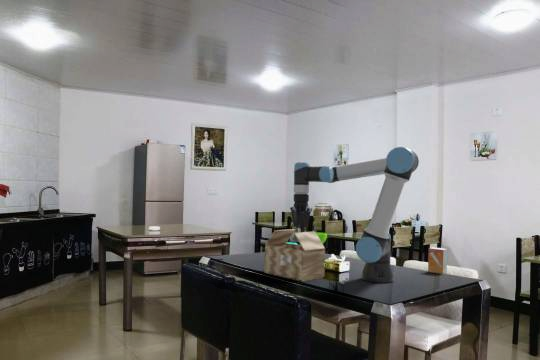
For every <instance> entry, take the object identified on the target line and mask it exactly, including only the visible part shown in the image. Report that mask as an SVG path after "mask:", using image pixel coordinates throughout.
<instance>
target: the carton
mask: <svg viewBox="0 0 540 360" xmlns="http://www.w3.org/2000/svg"><path fill="white" fill-rule="evenodd" d="M325 255H326V248H325V249H317V250H309V251H304V250H303V248H302V246H301V244H298V245H296V244H289V243H283V244H272V245H265V246H264V273H265V274H269V275H272V274H273V275H272V276H277V275H278V276H277V277H282V278H286V277H287V278H286V279H291V278H292V279H291V280H295V279H296V280H295V281H300V280H301V281H300V282H306V281H311V280H316V279H321V278H325V271H326V270H325V264H326V262H325V261H326V256H325Z"/></svg>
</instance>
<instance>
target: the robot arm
mask: <svg viewBox="0 0 540 360" xmlns="http://www.w3.org/2000/svg"><path fill="white" fill-rule="evenodd" d="M419 163H420V161H419V156H418V155H417V153H416V152H415V151H413V150H411V148H409V147H404V146H397V147H393V149H391V150H390V151H389V152H388V153H387V155H386V157H384V158H379V159H372V160H368V161H367V160H366V161H361V162H356V163H349V164H345V165H339V166H338V165H337V166H333V167H332V166H326V165H324V166H322V165H321V166H310V163H309V162H302V161H301V162H299V161H298V162H295V163H294V169H293V170H294V171H293V193H294V194H293V202H294V203H293V205H292V206H290V208H289V209H290V211H291V216H292V218H291V220H292V225H293V227H295V229H296V233H300V232H305V229H306V228H308V227H309V223H310V217H311V213H312V211H313V207H310V206H309V200H310V199H309V198H310V195H309V193H310V182H311V183H313V182H314V183H317V182H318V183H328V184H333V183H337V182H342V181H348V180H353V179H354V180H355V179H360V178H369V177H373V176H381V175H384V176H385V178H384V181H383V184H382V187H381V190H380V193H379V196H378V198H377V201H376V203H375V208H374V211H373V212H372V213H373V214H371V215H372V216H371V219H370V221H369V225H368V226H367V227H365V228H364V229H363V231H362V235H361V237H360V239H358V241H357V242H356V245H355V253H356V255H357V256H358V258H359V259H360V260H361V261H363V262H365V264H364V266H363V269H362V273H361V279H362V280H363V281H365V282H371V283H379V284H380V283H381V284H386V283H392V282H393V283H394V282H395V280H394V279H395V277H394V272H393V270H392V267H391V249H392V248H391V247H392V246H391V244H392V243H391V241H392V237H391V234H390V232H388V231H389V228H390V225H391V223H392V219H393V217H394V214H395V212H396V209H397V206H398V202H399V199H400V197H401V194H402V191H403V189H404V187H405V183H408V182H409V181H410V179H411V177H412V173H414V172H415V171H416V170H417V169H418V167H419ZM296 239H297V238H296ZM297 242H299V241H298V239H297Z"/></svg>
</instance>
